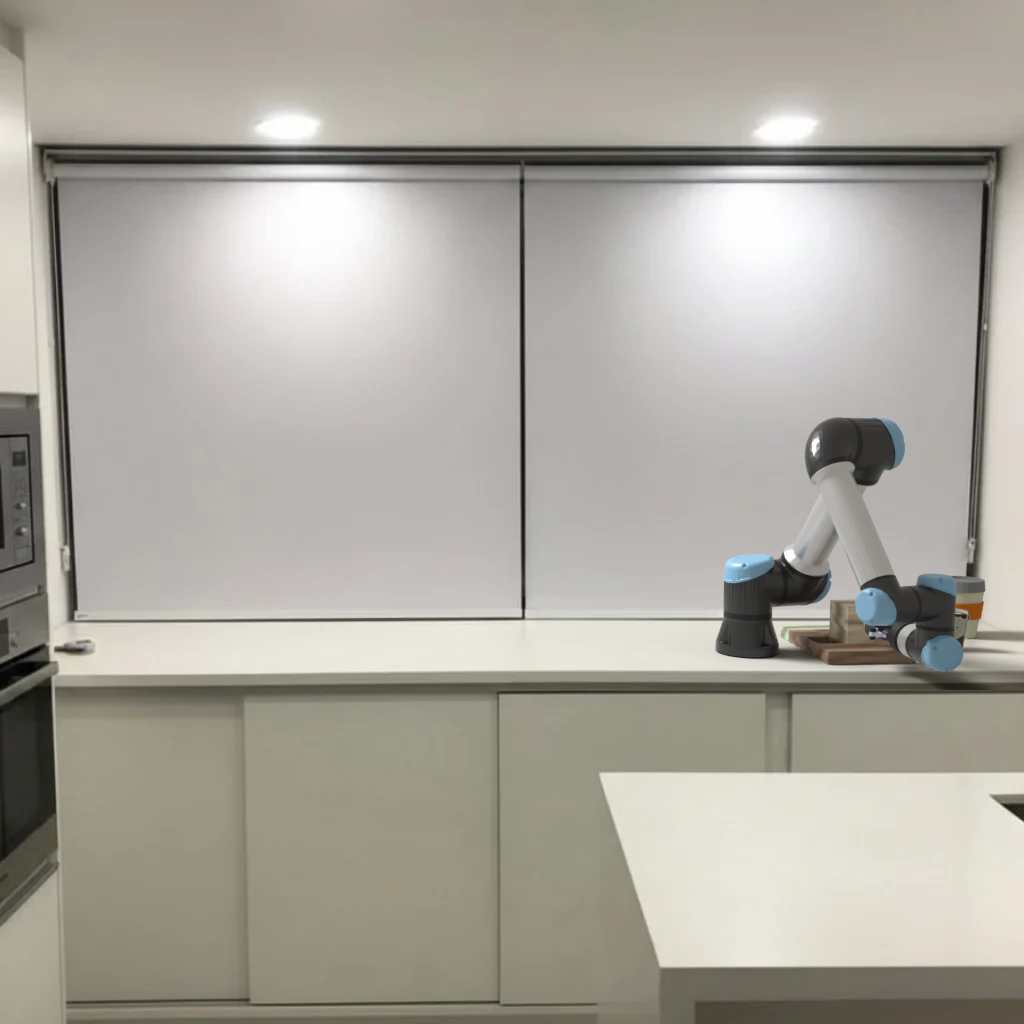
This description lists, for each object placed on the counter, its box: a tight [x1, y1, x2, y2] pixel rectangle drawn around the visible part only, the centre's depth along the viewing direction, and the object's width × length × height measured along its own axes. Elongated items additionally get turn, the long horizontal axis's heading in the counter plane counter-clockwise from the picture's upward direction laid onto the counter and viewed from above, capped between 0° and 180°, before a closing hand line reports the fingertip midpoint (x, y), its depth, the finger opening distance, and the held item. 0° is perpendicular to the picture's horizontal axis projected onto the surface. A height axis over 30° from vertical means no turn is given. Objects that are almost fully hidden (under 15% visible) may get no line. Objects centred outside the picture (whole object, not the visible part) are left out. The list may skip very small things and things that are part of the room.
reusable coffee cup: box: [951, 575, 986, 639], centre depth 276 cm, size 12×13×15 cm
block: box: [829, 599, 875, 644], centre depth 256 cm, size 10×7×9 cm
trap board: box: [780, 624, 916, 665], centre depth 260 cm, size 32×22×3 cm
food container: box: [955, 608, 970, 650], centre depth 260 cm, size 12×6×10 cm, turn 84°
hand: (866, 619), depth 251 cm, fingers closed
